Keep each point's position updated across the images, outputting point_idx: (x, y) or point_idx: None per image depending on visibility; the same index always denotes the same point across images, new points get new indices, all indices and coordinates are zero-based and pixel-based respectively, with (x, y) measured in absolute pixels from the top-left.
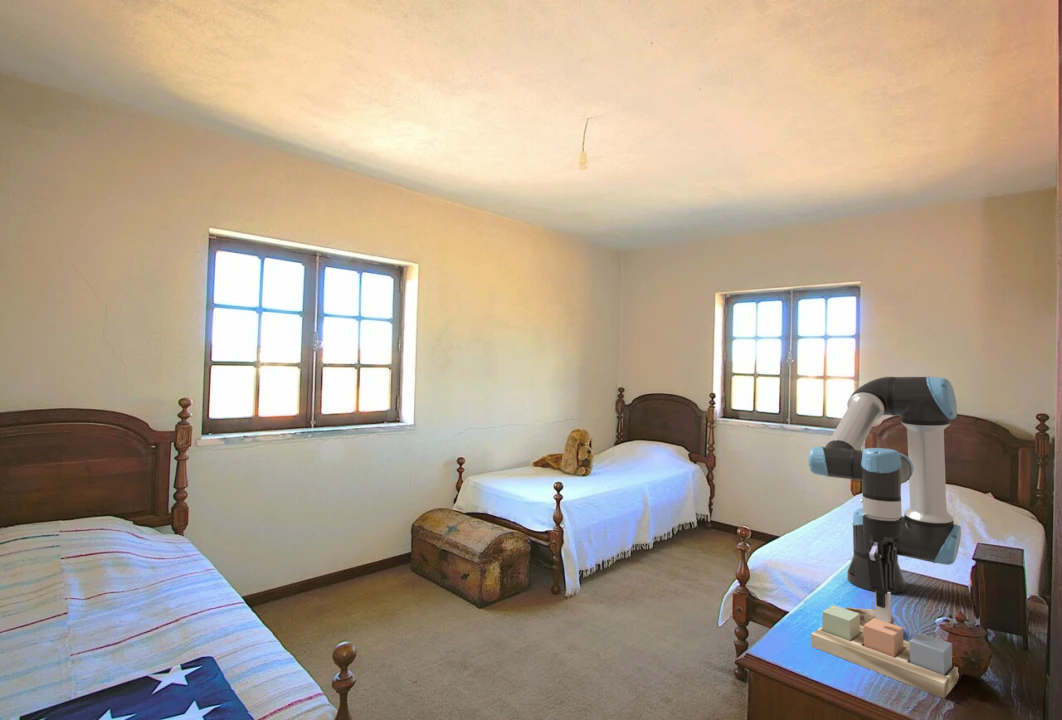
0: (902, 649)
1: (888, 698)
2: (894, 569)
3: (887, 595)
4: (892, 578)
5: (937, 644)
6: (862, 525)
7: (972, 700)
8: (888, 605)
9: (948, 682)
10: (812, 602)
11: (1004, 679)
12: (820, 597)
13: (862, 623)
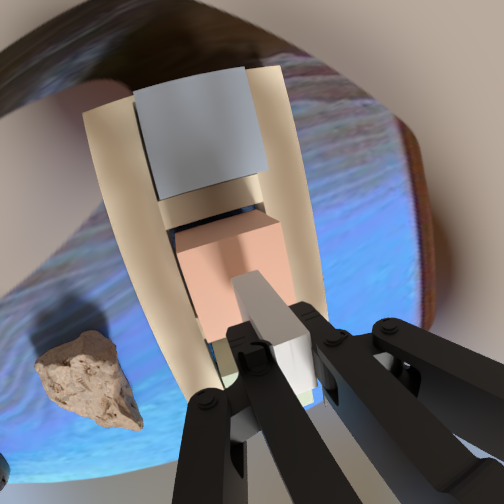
0: (184, 231)
1: (371, 141)
2: (196, 495)
3: (306, 330)
4: (228, 430)
5: (197, 106)
6: None
7: (211, 43)
8: (281, 302)
9: None
10: (136, 466)
11: (33, 76)
12: (103, 471)
13: (124, 383)
